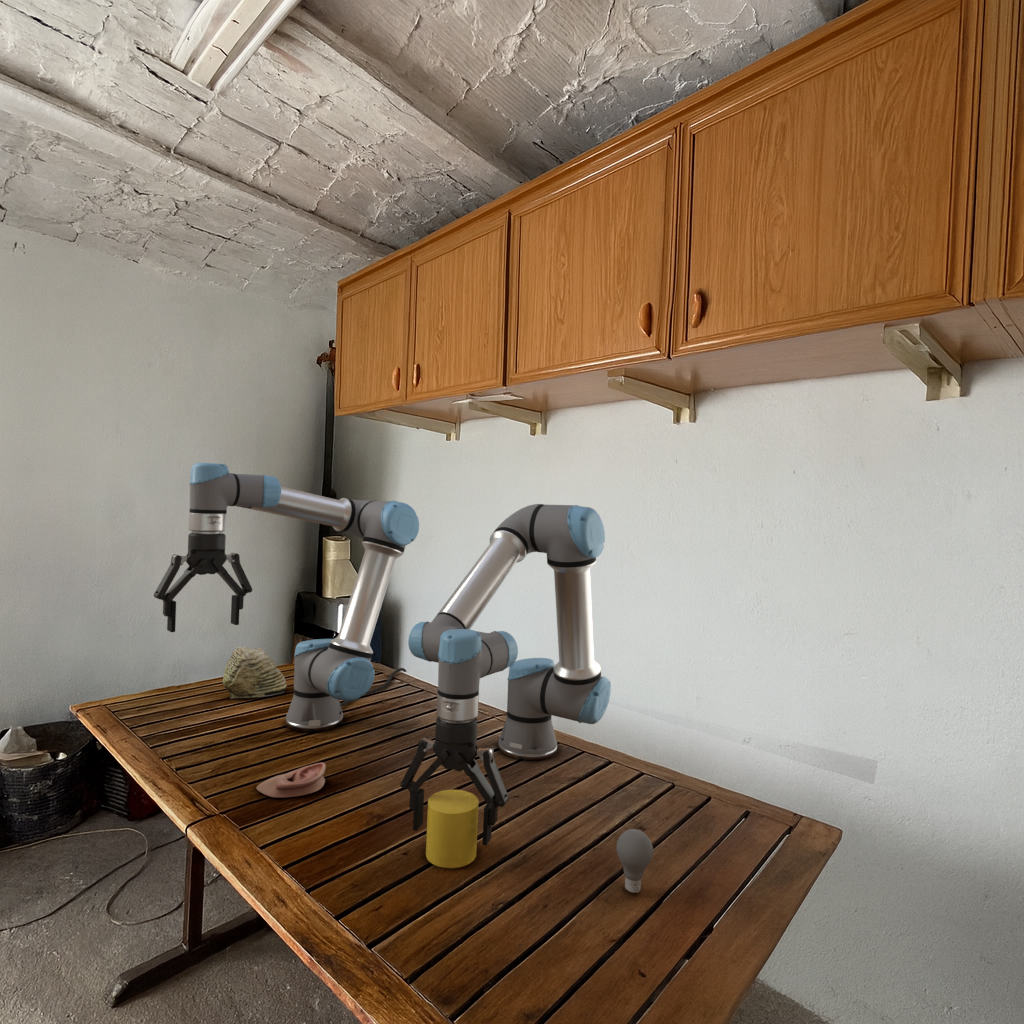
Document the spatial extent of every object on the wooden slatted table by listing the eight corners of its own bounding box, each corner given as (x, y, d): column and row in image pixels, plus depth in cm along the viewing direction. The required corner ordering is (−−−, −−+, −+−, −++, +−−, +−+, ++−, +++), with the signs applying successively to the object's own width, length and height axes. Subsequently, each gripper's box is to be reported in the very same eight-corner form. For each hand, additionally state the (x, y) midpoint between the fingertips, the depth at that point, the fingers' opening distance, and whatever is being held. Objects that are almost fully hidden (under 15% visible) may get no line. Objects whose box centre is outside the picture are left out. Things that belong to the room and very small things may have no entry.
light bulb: (610, 879, 108) (613, 822, 108) (644, 879, 109) (647, 822, 109) (619, 902, 102) (622, 840, 102) (655, 901, 103) (658, 840, 103)
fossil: (218, 695, 195) (220, 647, 195) (278, 685, 208) (279, 640, 207) (228, 703, 189) (230, 653, 188) (289, 692, 201) (290, 645, 201)
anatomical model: (248, 775, 133) (279, 754, 144) (247, 794, 133) (278, 771, 144) (306, 783, 130) (332, 761, 142) (305, 802, 130) (332, 779, 142)
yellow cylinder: (446, 835, 121) (448, 785, 121) (486, 850, 116) (488, 798, 116) (415, 856, 113) (417, 803, 113) (456, 874, 108) (458, 818, 108)
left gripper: (151, 534, 129) (147, 637, 130) (269, 533, 147) (265, 623, 148) (139, 531, 134) (136, 631, 135) (255, 531, 152) (251, 618, 153)
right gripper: (385, 713, 114) (380, 830, 114) (517, 734, 107) (511, 859, 107) (403, 701, 121) (399, 812, 122) (528, 720, 114) (523, 837, 114)
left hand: (204, 627), depth 141 cm, fingers open, 13 cm apart
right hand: (451, 834), depth 114 cm, fingers open, 13 cm apart
